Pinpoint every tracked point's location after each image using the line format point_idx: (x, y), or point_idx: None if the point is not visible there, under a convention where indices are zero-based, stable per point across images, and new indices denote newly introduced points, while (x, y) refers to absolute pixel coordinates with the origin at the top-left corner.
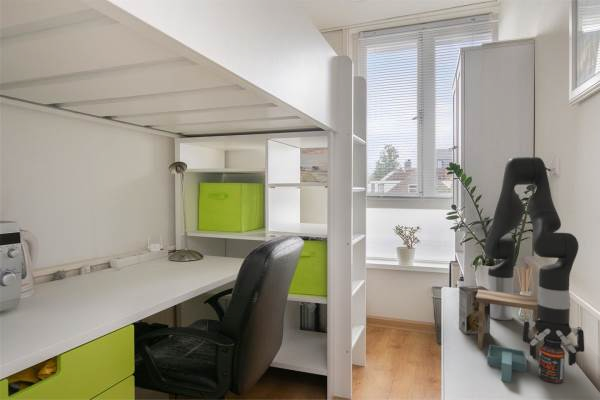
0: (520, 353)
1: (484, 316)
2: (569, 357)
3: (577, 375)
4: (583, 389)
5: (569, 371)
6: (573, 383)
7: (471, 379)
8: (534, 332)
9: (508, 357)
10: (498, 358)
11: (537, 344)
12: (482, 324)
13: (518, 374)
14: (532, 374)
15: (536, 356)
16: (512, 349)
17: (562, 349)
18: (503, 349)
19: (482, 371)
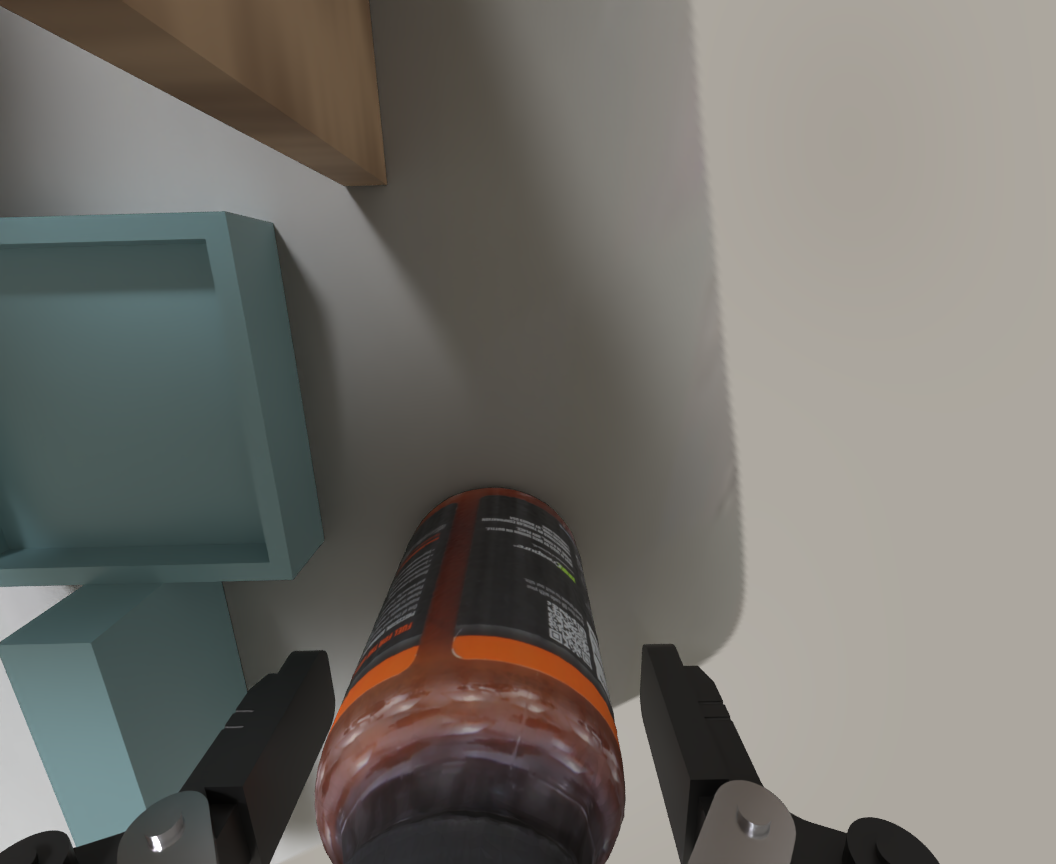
0: (196, 241)
1: None
2: (662, 784)
3: (703, 385)
4: (691, 611)
5: (652, 330)
6: (643, 553)
7: (46, 809)
8: (103, 59)
9: (106, 775)
10: (52, 583)
11: (308, 135)
12: None
13: (278, 605)
14: (369, 554)
15: (363, 178)
16: (86, 243)
17: (600, 853)
18: (7, 245)
19: None
